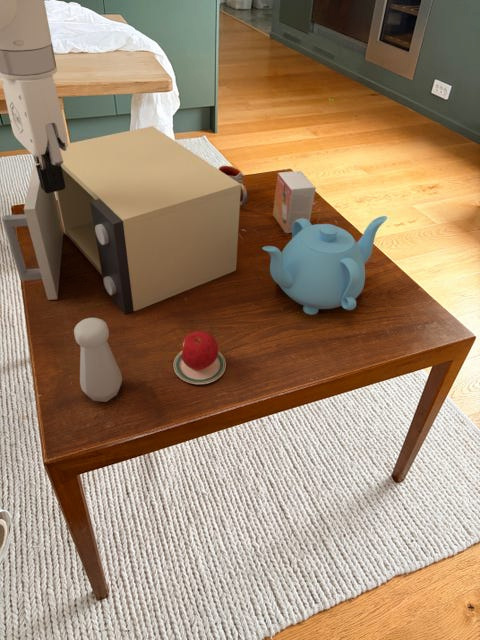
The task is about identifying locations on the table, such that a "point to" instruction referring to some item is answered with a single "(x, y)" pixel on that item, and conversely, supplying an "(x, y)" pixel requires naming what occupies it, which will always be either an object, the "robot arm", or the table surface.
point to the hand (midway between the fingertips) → (53, 189)
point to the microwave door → (38, 236)
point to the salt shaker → (97, 361)
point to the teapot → (323, 265)
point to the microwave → (148, 215)
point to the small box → (292, 199)
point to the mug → (237, 176)
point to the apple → (199, 359)
